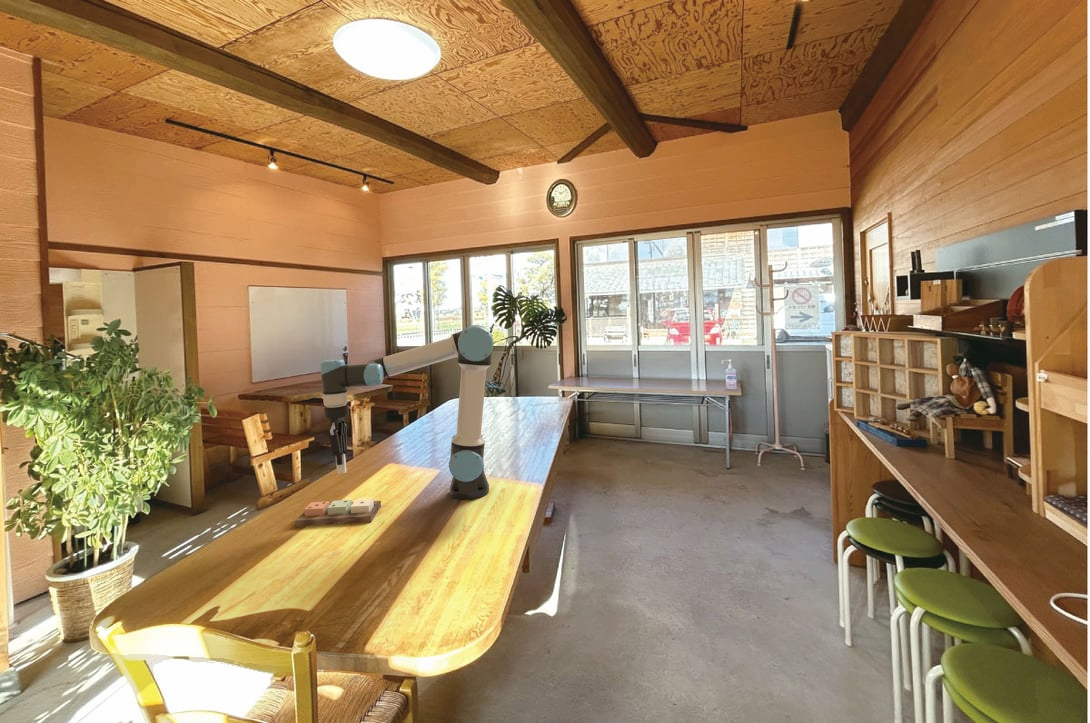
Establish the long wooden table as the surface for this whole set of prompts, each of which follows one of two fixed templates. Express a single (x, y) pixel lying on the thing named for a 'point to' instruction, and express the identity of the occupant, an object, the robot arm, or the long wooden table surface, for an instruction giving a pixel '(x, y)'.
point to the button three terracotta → (316, 508)
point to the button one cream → (362, 506)
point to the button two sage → (339, 507)
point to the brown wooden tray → (338, 518)
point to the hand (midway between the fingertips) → (341, 472)
